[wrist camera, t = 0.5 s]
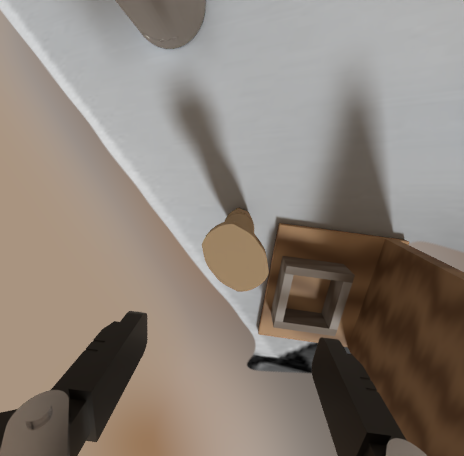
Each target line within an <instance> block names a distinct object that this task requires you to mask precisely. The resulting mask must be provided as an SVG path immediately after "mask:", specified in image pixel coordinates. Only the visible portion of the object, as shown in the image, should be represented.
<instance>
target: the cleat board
mask: <svg viewBox="0 0 464 456" xmlns="http://www.w3.org/2000/svg"><path fill="white" fill-rule="evenodd" d="M258 333H259V334H260V335H267V336H274V337H281V338H288V339H295V340H302V341H309V342H316V343H318V341H319V339H320V338H321V337H323V338H331V339H338V340H339V341H340V342H341V343H342V345H343V346H344V347H348V349H349V350H350V352H351V354H352V355H353V356H354V357H355V358H356V359H357V360H358V361H359V362H360V363H361V364H362V365H363V367H364V368H365V370H366V372H367V373H368V375H369V377H370V380H371V381H372V382H373V384H374V385H375V387H376V389H377V392H379V394H380V396H381V397H382V399H383V401H384V402H385V404H386V406H387V407H388V409H389V411H390V413H391V414H392V416H393V418H394V419H395V421H396V423H397V424H398V426H399V428H400V430H401V431H402V433H403V435H404V436H405V438H406V440H407V441H408V442H410V443H412V444H413V445H415V446H417V447H418V448H419V449H420V450H422V451H423V452H424V453H425V454H426V455H427V456H464V272H462V271H460V270H458V269H456V268H454V267H452V266H450V265H448V264H446V263H444V262H442V261H439V260H437V259H436V258H434V257H431V256H429V255H427V254H425V253H423V252H421V251H419V250H417V249H415V248H413V247H411V246H409V242H408V241H406V240H403V239H395V238H388V237H380V236H373V235H365V234H358V233H350V232H342V231H335V230H327V229H320V228H312V227H305V226H297V225H290V224H282V223H279V225H278V230H277V235H276V240H275V246H274V251H273V256H272V261H271V266H270V272H269V277H268V282H267V287H266V292H265V297H264V303H263V308H262V313H261V318H260V323H259V329H258Z"/></svg>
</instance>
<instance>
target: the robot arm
mask: <svg viewBox="0 0 464 456" xmlns="http://www.w3.org/2000/svg"><path fill="white" fill-rule="evenodd" d="M115 1H116V2H117V3H118V5H119V6H120V7H121V8H122V10H123V11H124V12H125V14H126V15H127V16H128V17H129V19H130V20H131V21H132V22H133V24H134V25H135V26H136V27H137V29H138V30H139V31H140V32H141V34H142V35H143V36H144V37H145V38H146V39H147V40H148V41H149V42H151V43H152V44H154V45H156V46H158V47H161V48H165V49H175V48H179V47H182V46H183V45H185V44H187V43H188V42H190V41H191V40H192V39H193V38H194V37H195V35H196V34H197V32H198V31H199V29H200V27H201V25H202V22H203V19H204V15H205V6H206V0H115ZM146 344H147V314H146V313H141V312H134V311H129V312H128V313H127V314H126V315H125V316H124V318H123V319H122V320H121V322H115V321H114V322H113V323H111V324H110V325H108V326H107V327H105V328H104V329H102V330H101V332H100V333H99V334H98V335H97V336H96V338H95V339H94V341H93V342H91V343H90V345H89V346H88V347H87V348H86V350H85V351H84V352H83V353H82V354H81V355H80V356H79V357H78V359H77V360H76V361H75V362H74V363H73V364H72V366H71V367H70V368H69V369H68V370H67V372H66V373H65V374H64V375H63V376H62V378H61V379H60V380H59V381H58V382H57V383H56V384H55V386H54V387H53V388H52V389H51V390H50V391H46V392H43V393H41V394H38V395H36V396H34V397H33V398H31V399H30V400H28V401H27V402H25V403H24V404H23V405H22V406H21V407H19V408H18V409H16V410H12V411H7V412H2V413H0V456H77V455H78V454H79V452H80V450H81V448H82V447H83V445H84V443H85V441H92V442H97V441H98V439H99V437H100V435H101V433H102V431H103V430H104V428H105V426H106V424H107V422H108V420H109V418H110V416H111V414H112V413H113V410H114V409H115V407H116V405H117V403H118V401H119V399H120V397H121V395H122V393H123V392H124V390H125V388H126V386H127V384H128V382H129V380H130V378H131V376H132V375H133V373H134V371H135V369H136V367H137V365H138V363H139V361H140V359H141V358H142V356H143V353H144V351H145V348H146ZM312 375H313V380H314V383H315V386H316V389H317V392H318V395H319V398H320V402H321V405H322V408H323V411H324V414H325V417H326V420H327V423H328V427H329V429H330V433H331V436H332V439H333V442H334V445H335V448H336V452H337V455H338V456H427V455H426V454H425V453H424V452H423V451H422V450H420V449H419V448H418V447H417V446H415V445H413V444H412V443H410V442H408V441H407V440H406V438H405V436H404V435H403V433H402V431H401V430H400V428H399V426H398V424H397V423H396V421H395V419H394V418H393V416H392V414H391V413H390V411H389V409H388V407H387V406H386V404H385V402H384V401H383V399H382V397H381V396H380V394H379V392H377V389H376V387H375V385H374V384H373V382H372V381H371V380H370V377H369V375H368V373H367V372H366V370H365V368H364V367H363V365H362V364H361V363H360V362H359V361H358V360H357V359H356V358H355V357H354V356H353V355H352V354H347V353H346V351H345V349H344V347H343V345H342V343H341V342H340V341H339V340H338V339H331V338H323V337H321V338H320V339H319V341H318V345H317V348H316V352H315V355H314V358H313V362H312Z"/></svg>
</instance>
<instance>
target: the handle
mask: <svg viewBox="0 0 464 456" xmlns="http://www.w3.org/2000/svg"><path fill="white" fill-rule="evenodd" d="M202 248H203V253H204V257H205V261H206V263H207V265H208V267H209V269H210V270H211V271H212V272H213V274H214V275H215V276H216V277H217V279H218V280H219V281H220V282H222V283H223V284H225V285H227V286H228V287H230V288H232V289H234V290H236V291H248V290H251V289H254V288H256V287H257V286H259V285H260V284H262V283H263V282H264V281H265V279H266V278H267V276H268V274H269V270H268V263H267V257H266V253H265V249H264V247H263V246H262V244H261V242H260V241H259V239H258V238H257V237H256V235H255V234H254V224H253V221H252V218H251V216H250V214H249V212H248V211H245V210H242V209H240V208H236V210H234V211H232V212H231V213H230V214H229V215H228V216H227V218H226V219H225V222H223V223H221V224H219V225H217V226H215V227H214V228H213V229H211V230H210V232H209V233H208V234H207V235H206V237H205V239H204V241H203V243H202Z"/></svg>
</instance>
